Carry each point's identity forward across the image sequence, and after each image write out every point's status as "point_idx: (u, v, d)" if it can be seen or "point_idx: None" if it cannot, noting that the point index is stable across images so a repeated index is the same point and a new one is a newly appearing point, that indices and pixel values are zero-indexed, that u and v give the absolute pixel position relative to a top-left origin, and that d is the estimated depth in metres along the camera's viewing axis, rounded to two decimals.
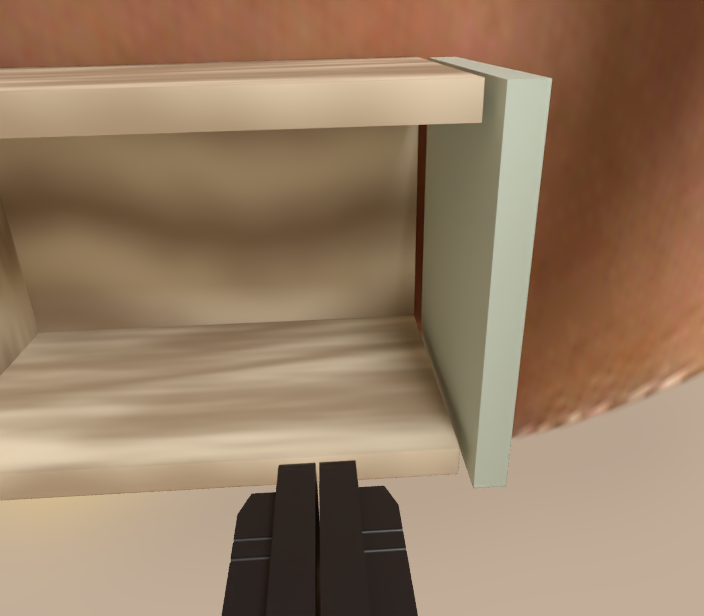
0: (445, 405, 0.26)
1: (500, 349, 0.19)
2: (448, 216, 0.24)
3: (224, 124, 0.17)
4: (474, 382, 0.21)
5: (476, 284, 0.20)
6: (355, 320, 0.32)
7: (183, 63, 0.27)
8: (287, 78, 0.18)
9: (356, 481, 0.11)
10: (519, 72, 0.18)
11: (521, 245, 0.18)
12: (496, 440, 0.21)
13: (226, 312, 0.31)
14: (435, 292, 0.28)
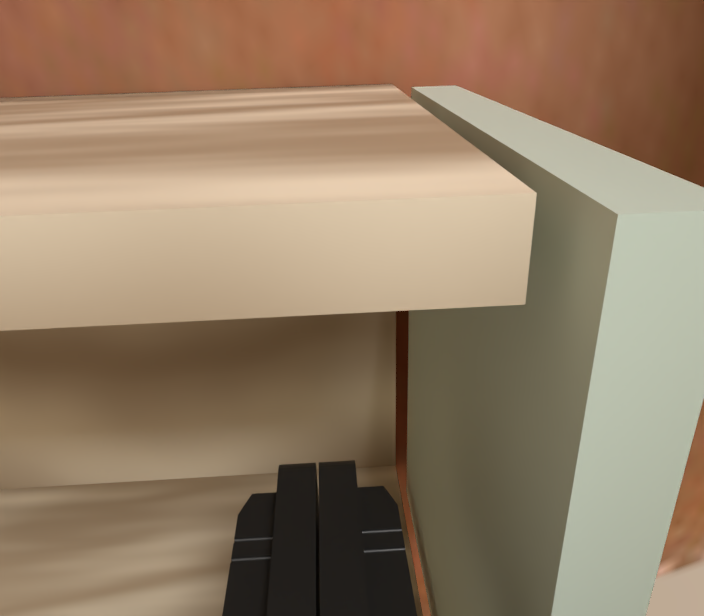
0: None
1: None
2: (444, 378, 0.13)
3: None
4: None
5: (504, 593, 0.09)
6: None
7: (6, 98, 0.16)
8: (37, 176, 0.07)
9: (355, 481, 0.11)
10: (615, 158, 0.07)
11: (623, 590, 0.07)
12: None
13: (110, 467, 0.21)
14: (425, 468, 0.17)
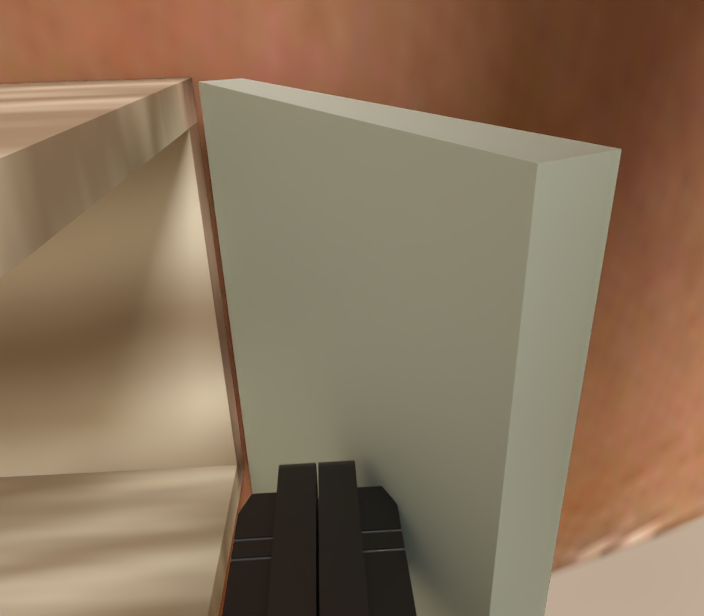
0: None
1: None
2: (301, 366, 0.13)
3: None
4: None
5: (426, 543, 0.10)
6: (143, 476, 0.21)
7: None
8: None
9: (355, 481, 0.11)
10: (473, 124, 0.08)
11: (546, 496, 0.08)
12: None
13: None
14: (282, 463, 0.17)
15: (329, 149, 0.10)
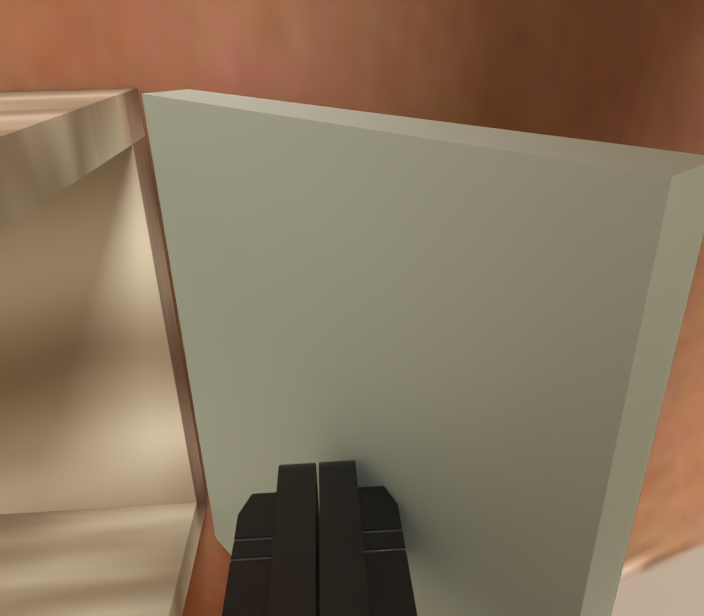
0: None
1: None
2: (299, 397, 0.12)
3: None
4: None
5: (485, 572, 0.09)
6: (94, 516, 0.19)
7: None
8: None
9: (356, 481, 0.11)
10: (530, 135, 0.08)
11: (627, 509, 0.08)
12: None
13: None
14: None
15: (353, 166, 0.09)
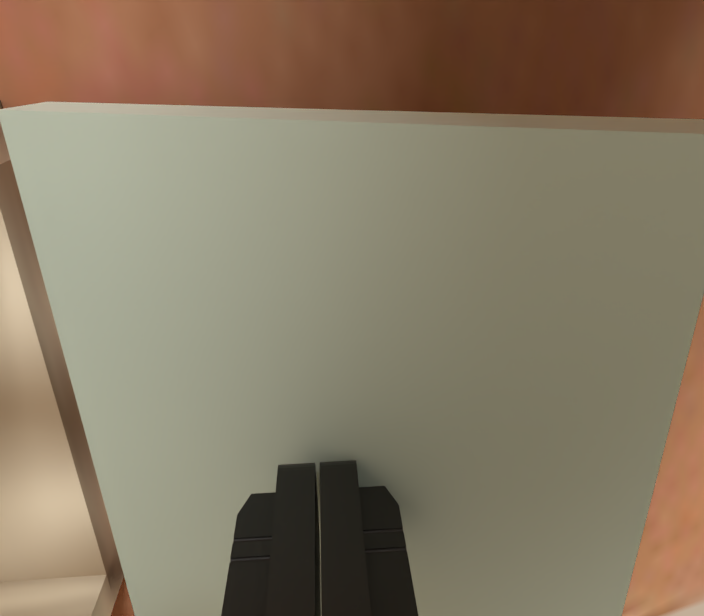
0: None
1: None
2: (287, 419, 0.12)
3: None
4: None
5: (541, 518, 0.10)
6: None
7: None
8: None
9: (356, 481, 0.11)
10: (553, 117, 0.09)
11: None
12: None
13: None
14: (225, 549, 0.14)
15: (377, 163, 0.09)
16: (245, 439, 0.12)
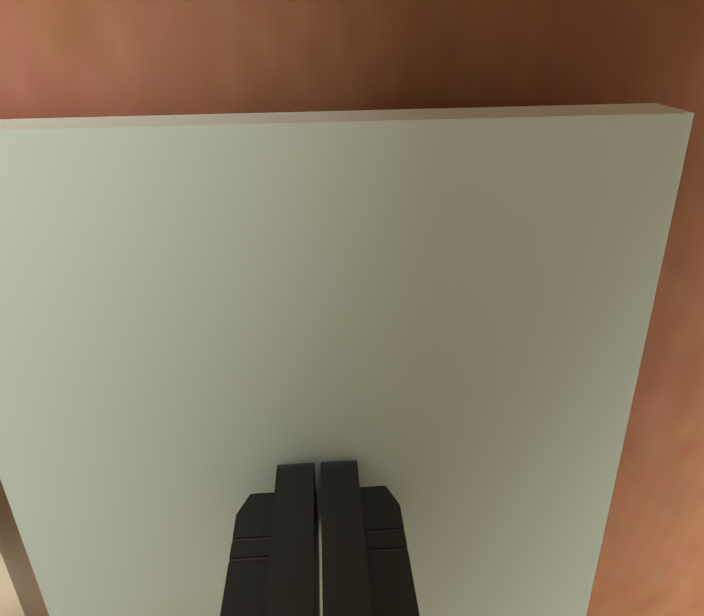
0: None
1: None
2: (281, 436, 0.11)
3: None
4: (548, 593, 0.13)
5: (537, 469, 0.12)
6: None
7: None
8: None
9: (358, 481, 0.11)
10: (523, 107, 0.10)
11: None
12: None
13: None
14: (205, 594, 0.13)
15: (381, 160, 0.09)
16: (231, 468, 0.12)
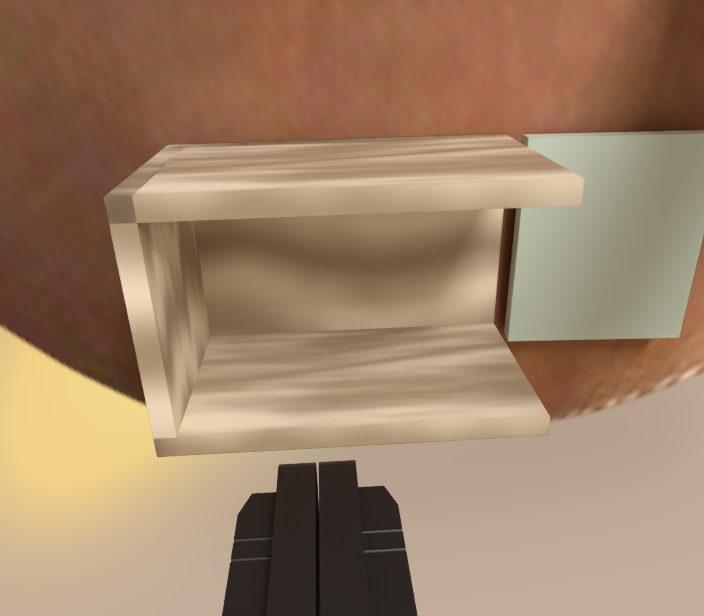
0: (605, 338, 0.42)
1: None
2: (605, 225, 0.38)
3: (421, 207, 0.27)
4: (677, 286, 0.40)
5: (679, 237, 0.39)
6: (449, 327, 0.42)
7: (336, 140, 0.37)
8: (453, 174, 0.28)
9: (356, 481, 0.11)
10: (682, 131, 0.37)
11: None
12: None
13: (352, 320, 0.41)
14: (566, 286, 0.40)
15: (650, 144, 0.36)
16: (588, 237, 0.39)
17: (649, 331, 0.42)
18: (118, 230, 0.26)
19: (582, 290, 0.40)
